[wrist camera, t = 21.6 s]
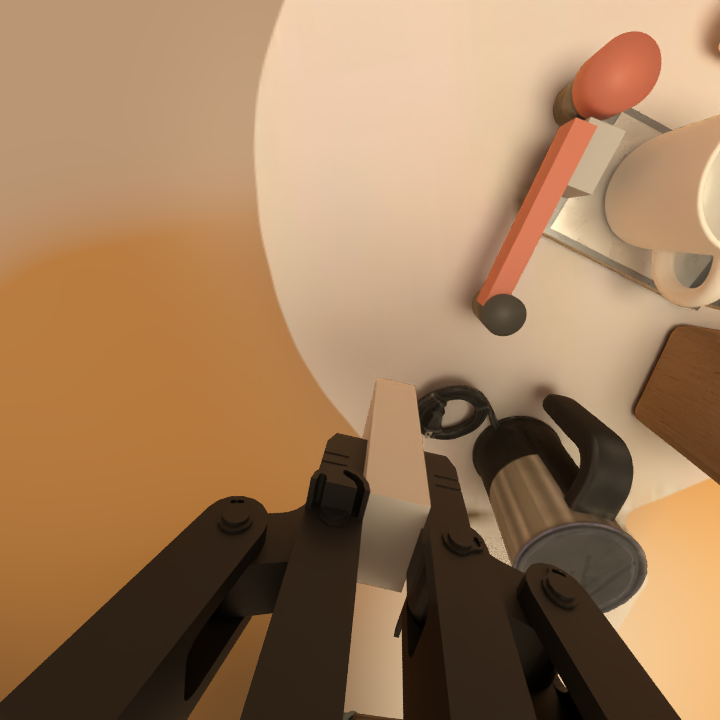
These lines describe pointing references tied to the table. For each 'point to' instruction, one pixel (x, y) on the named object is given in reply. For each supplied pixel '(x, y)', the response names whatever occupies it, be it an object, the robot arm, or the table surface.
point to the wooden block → (687, 397)
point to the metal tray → (588, 218)
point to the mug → (672, 205)
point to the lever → (570, 165)
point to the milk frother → (553, 490)
